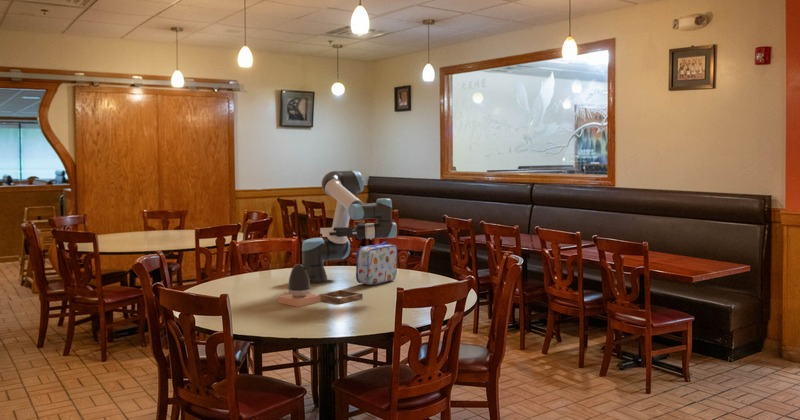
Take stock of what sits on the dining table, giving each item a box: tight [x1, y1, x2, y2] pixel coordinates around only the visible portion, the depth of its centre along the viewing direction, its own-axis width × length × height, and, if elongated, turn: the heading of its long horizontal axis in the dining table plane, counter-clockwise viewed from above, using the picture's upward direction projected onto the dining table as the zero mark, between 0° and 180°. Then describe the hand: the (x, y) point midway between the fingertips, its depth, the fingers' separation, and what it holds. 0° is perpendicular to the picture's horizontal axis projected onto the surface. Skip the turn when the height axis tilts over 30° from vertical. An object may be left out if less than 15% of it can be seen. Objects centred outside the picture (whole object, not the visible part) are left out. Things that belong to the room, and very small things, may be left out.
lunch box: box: [355, 241, 398, 286], centre depth 366 cm, size 28×10×22 cm, turn 143°
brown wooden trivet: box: [317, 289, 364, 305], centre depth 325 cm, size 15×15×2 cm
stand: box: [277, 292, 322, 308], centre depth 319 cm, size 14×14×3 cm
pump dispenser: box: [287, 263, 311, 297], centre depth 318 cm, size 10×10×15 cm
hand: (321, 232), depth 326 cm, fingers open, 13 cm apart
